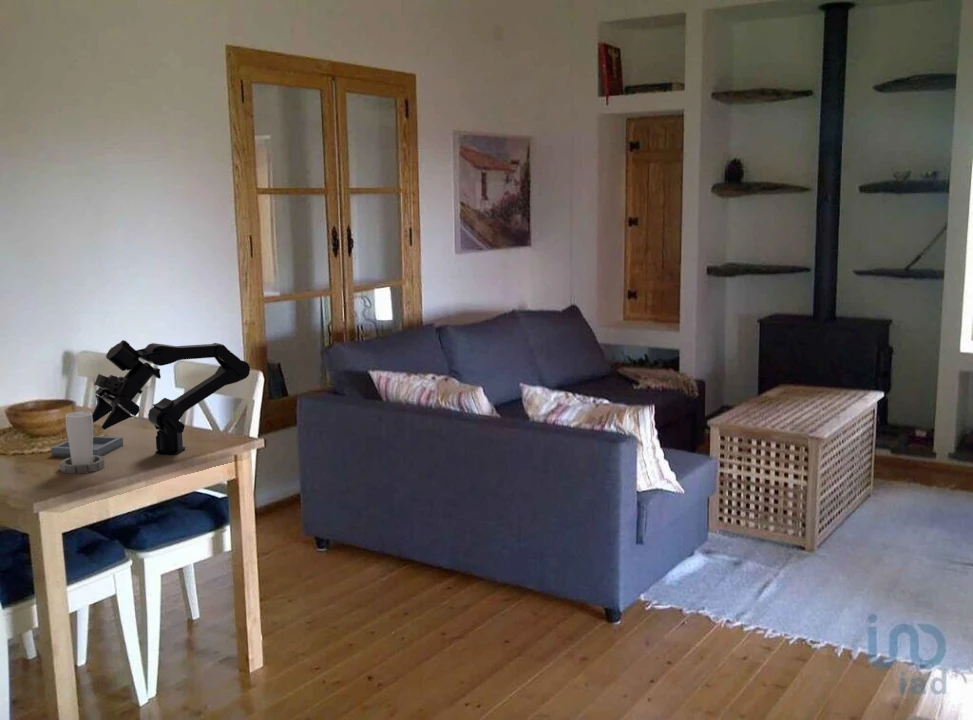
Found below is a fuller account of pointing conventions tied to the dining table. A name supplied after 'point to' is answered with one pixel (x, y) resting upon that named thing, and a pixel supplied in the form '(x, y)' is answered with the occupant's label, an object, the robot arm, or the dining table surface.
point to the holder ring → (69, 468)
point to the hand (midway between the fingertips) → (96, 425)
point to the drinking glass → (80, 437)
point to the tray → (100, 446)
